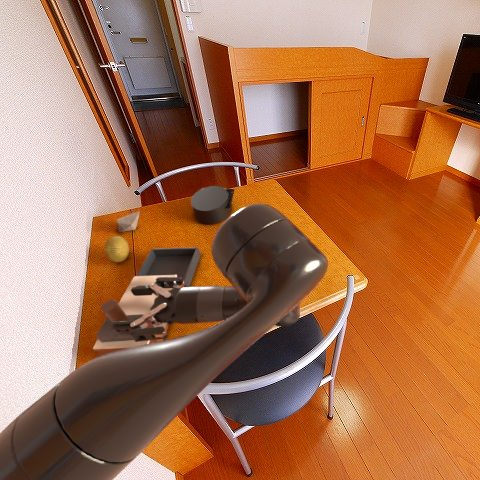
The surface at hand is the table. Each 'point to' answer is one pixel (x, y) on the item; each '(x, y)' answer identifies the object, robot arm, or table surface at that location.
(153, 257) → the bin
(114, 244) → the sculpture
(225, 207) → the dark grey round pot
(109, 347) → the beige flat block
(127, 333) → the stamp with brown handle
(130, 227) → the paper boat
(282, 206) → the table surface
